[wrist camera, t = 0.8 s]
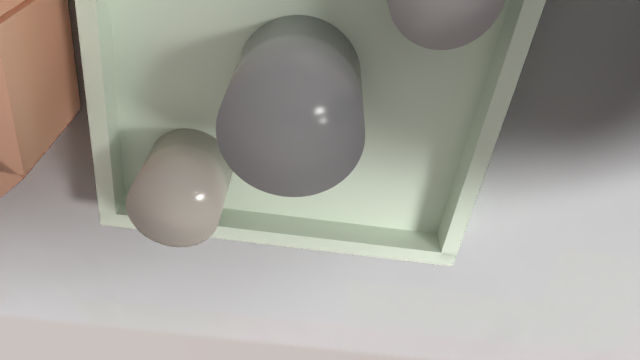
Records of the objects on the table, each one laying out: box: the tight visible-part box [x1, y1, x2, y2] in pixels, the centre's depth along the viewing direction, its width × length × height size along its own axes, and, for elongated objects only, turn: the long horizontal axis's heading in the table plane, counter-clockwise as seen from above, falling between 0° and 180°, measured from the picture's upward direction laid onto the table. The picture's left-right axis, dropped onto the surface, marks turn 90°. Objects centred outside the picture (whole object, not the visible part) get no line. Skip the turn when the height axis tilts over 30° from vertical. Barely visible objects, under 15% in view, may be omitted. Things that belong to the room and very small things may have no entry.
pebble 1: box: [126, 128, 233, 247], centre depth 19 cm, size 3×3×3 cm
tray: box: [75, 0, 546, 266], centre depth 18 cm, size 13×13×2 cm
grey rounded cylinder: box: [216, 15, 365, 197], centre depth 17 cm, size 4×4×4 cm
